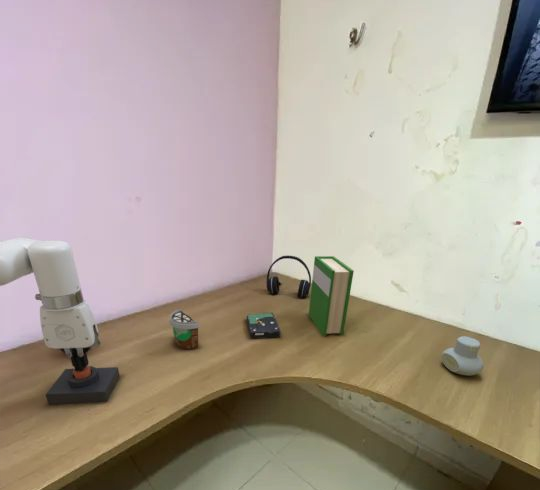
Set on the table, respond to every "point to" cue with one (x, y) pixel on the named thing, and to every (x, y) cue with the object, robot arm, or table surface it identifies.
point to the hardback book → (330, 294)
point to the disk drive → (263, 325)
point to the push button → (82, 373)
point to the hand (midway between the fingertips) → (81, 367)
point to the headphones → (274, 281)
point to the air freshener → (463, 357)
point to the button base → (83, 387)
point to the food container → (184, 330)
